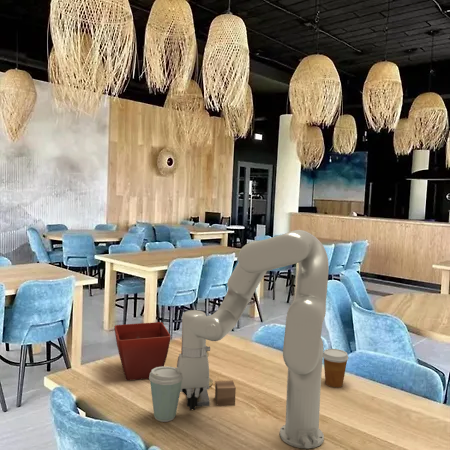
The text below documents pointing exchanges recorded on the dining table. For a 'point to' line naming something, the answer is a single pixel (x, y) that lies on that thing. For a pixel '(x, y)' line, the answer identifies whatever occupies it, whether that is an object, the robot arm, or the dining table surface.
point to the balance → (203, 395)
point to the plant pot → (142, 348)
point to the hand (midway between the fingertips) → (191, 408)
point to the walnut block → (225, 393)
